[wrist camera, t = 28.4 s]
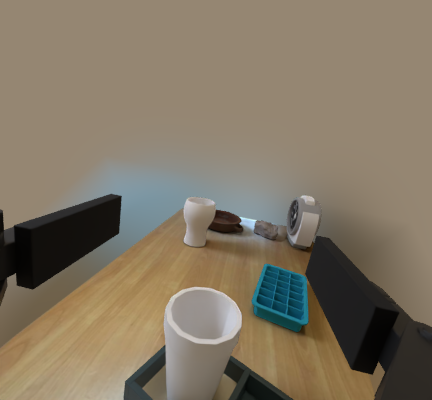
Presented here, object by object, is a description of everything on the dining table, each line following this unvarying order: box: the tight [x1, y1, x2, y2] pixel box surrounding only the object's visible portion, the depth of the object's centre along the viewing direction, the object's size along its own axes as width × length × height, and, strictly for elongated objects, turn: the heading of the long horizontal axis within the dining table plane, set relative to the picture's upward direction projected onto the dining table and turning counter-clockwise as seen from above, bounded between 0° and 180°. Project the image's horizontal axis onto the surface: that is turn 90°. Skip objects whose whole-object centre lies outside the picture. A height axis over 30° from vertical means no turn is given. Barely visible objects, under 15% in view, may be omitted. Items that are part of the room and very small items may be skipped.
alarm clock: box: [287, 195, 321, 249], centre depth 91 cm, size 18×8×20 cm, turn 174°
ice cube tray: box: [252, 264, 309, 332], centre depth 55 cm, size 12×20×3 cm, turn 159°
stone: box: [254, 221, 278, 240], centre depth 95 cm, size 8×10×6 cm
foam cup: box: [164, 287, 242, 400], centre depth 29 cm, size 10×9×13 cm
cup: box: [184, 197, 216, 247], centre depth 76 cm, size 11×11×15 cm
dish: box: [208, 210, 243, 232], centre depth 96 cm, size 18×22×5 cm
